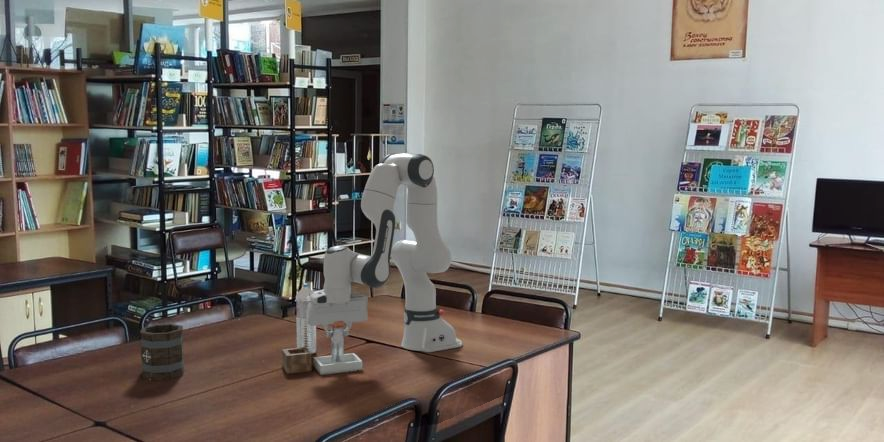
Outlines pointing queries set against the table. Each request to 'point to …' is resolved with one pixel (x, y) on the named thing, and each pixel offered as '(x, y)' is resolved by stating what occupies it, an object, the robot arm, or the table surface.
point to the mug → (162, 351)
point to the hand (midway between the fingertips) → (337, 336)
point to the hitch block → (296, 360)
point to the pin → (337, 341)
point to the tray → (337, 364)
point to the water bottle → (304, 330)
